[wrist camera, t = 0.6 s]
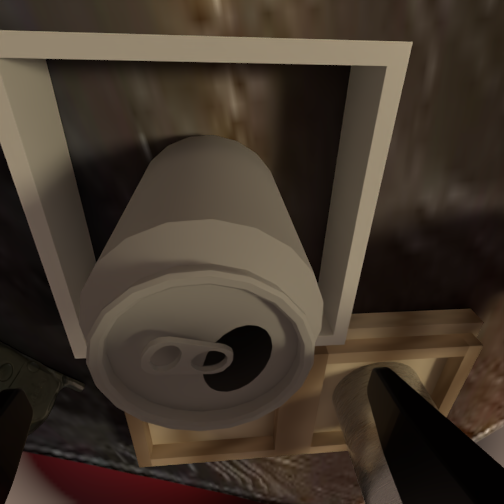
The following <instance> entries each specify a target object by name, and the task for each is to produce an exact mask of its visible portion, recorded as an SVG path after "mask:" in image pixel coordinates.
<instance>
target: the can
mask: <svg viewBox="0 0 504 504" xmlns="http://www.w3.org/2000/svg"><path fill="white" fill-rule="evenodd" d="M323 303H324V302H323V299H322V296H321V293H320V290H319V287H318V284H317V281H316V278H315V275H314V272H313V270H312V268H311V265H310V263H309V261H308V258H307V256H306V254H305V251H304V249H303V247H302V244H301V242H300V239H299V237H298V235H297V232H296V230H295V228H294V225H293V223H292V221H291V218H290V216H289V214H288V211H287V209H286V207H285V204H284V202H283V199H282V197H281V195H280V192H279V190H278V188H277V185H276V183H275V181H274V178H273V176H272V174H271V171H270V170H269V169H268V167H267V166H266V165H265V164H264V162H263V161H262V160H261V159H260V157H259V156H258V155H257V154H256V153H255V152H253V151H252V150H250V149H249V148H247V147H245V146H244V145H242V144H241V143H239V142H238V141H235V140H231V139H227V138H223V137H219V136H215V135H207V136H192V137H188V138H185V139H183V140H180V141H178V142H176V143H173V144H171V145H168V146H167V147H166V148H165V149H164V150H163V151H161V152H160V153H159V154H158V155H157V156H156V157H155V158H154V159H153V160H152V161H151V162H150V164H149V166H148V168H147V169H146V171H145V173H144V175H143V177H142V179H141V181H140V182H139V184H138V186H137V188H136V190H135V192H134V194H133V195H132V197H131V199H130V201H129V203H128V205H127V207H126V209H125V210H124V212H123V214H122V216H121V218H120V220H119V222H118V223H117V225H116V227H115V229H114V231H113V233H112V235H111V236H110V238H109V240H108V242H107V244H106V246H105V248H104V249H103V251H102V253H101V255H100V257H99V259H98V261H97V262H96V264H95V266H94V268H93V270H92V272H91V274H90V276H89V278H88V280H87V282H86V284H85V286H84V288H83V290H82V291H81V293H80V314H79V325H80V328H81V330H82V333H83V335H84V338H85V340H86V343H87V352H86V364H87V366H88V369H89V371H90V373H91V376H92V378H93V380H94V383H95V385H96V387H97V388H98V389H99V390H100V391H101V392H102V393H103V394H104V395H105V396H106V397H107V398H108V399H109V400H110V401H111V402H112V403H113V404H114V405H115V406H116V407H117V408H119V409H121V410H123V411H125V412H126V413H128V414H130V415H132V416H134V417H136V418H137V419H139V420H141V421H144V422H147V423H151V424H154V425H158V426H162V427H165V428H169V429H177V430H191V431H207V430H216V429H225V428H231V427H235V426H238V425H241V424H244V423H247V422H251V421H254V420H257V419H259V418H261V417H263V416H264V415H266V414H268V413H270V412H272V411H273V410H275V409H277V408H279V407H280V406H282V405H283V404H284V403H285V402H286V401H287V400H288V399H289V398H290V397H291V396H292V395H293V394H294V393H295V392H297V391H298V390H299V389H300V388H301V387H302V385H303V383H304V381H305V379H306V378H307V376H308V374H309V372H310V370H311V368H312V366H313V363H314V349H315V341H316V339H317V337H318V335H319V333H320V331H321V327H322V315H323Z"/></svg>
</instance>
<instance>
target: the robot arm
mask: <svg viewBox="0 0 504 504" xmlns="http://www.w3.org/2000/svg"><path fill="white" fill-rule="evenodd" d="M367 396H368V399H369V403H370V407H371V410H372V414H373V418H374V421H375V425H376V429H377V432H378V436H379V440H380V443H381V447H382V450H383V454H384V456H385V459H386V462H387V465H388V467H389V470H390V472H391V475H392V478H393V480H394V483H395V485H396V488H397V491H398V493H399V496H400V499H401V501H402V504H504V468H503V467H502V466H501V465H500V464H499V463H497V462H496V461H495V460H494V459H493V458H492V457H491V456H489V455H488V454H487V453H486V452H485V451H484V450H483V449H482V448H480V447H479V446H478V445H477V444H476V443H475V442H474V441H472V440H471V439H470V438H469V437H468V436H467V435H466V434H464V433H463V432H462V431H461V430H460V429H459V428H458V427H457V426H455V425H454V424H453V423H452V422H451V421H450V420H449V419H447V418H446V417H445V416H444V415H443V414H442V413H441V412H439V411H438V410H437V409H436V408H435V407H434V406H433V405H431V404H430V403H429V402H428V401H427V400H426V399H425V398H423V397H422V396H421V395H420V394H419V393H418V392H417V391H416V390H414V389H413V388H412V387H411V386H410V385H409V384H408V383H406V382H405V381H404V380H403V379H402V378H401V377H400V376H398V375H397V374H396V373H395V372H394V371H393V370H392V369H390V368H388V367H376V368H373V369H372V372H371V375H370V378H369V382H368V385H367ZM32 418H33V408H32V405H31V403H30V401H29V399H28V397H27V395H26V393H25V391H24V390H23V389H21V388H14V389H5V390H2V391H1V392H0V504H5V501H6V499H7V496H8V494H9V491H10V489H11V486H12V484H13V481H14V478H15V474H16V472H17V468H18V465H19V462H20V458H21V455H22V452H23V448H24V445H25V442H26V438H27V435H28V431H29V428H30V425H31V421H32Z"/></svg>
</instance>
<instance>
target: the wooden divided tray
mask: <svg viewBox="0 0 504 504" xmlns="http://www.w3.org/2000/svg"><path fill="white" fill-rule="evenodd" d="M483 323H484V322H483V321H482V320H481V319H480V318H479V317H478V316H477V315H476V314H475V313H474V312H473V311H472V310H471V309H450V310H428V311H405V312H383V313H360V314H351V318H350V323H349V327H348V332H347V336H346V341H345V345H327V346H315V349H314V363H313V366H312V368H311V370H310V372H309V374H308V376H307V378H306V379H305V381H304V383H303V385H302V387H301V388H300V389H299V390H298V391H297V392H295V393H294V394H293V395H292V396H291V397H290V398H289V399H288V400H287V401H286V402H285V403H284V404H283V405H282V406H280V407H279V408H277V409H275V410H273V411H272V412H270V413H268V414H266V415H264V416H263V417H261V418H259V419H257V420H254V421H251V422H247V423H244V424H241V425H238V426H235V427H231V428H225V429H216V430H207V431H191V430H177V429H169V428H165V427H162V426H158V425H154V424H151V423H147V422H144V421H141V420H139V419H137V418H136V417H134V416H132V415H130V414H128V413H126V412H125V411H124V412H125V415H126V419H127V423H128V426H129V430H130V434H131V438H132V441H133V445H134V449H135V452H136V456H137V460H138V463H139V467H150V466H162V465H175V464H187V463H200V462H212V461H224V460H237V459H249V458H262V457H274V456H286V455H299V454H311V453H324V452H336V451H348V449H347V446H346V442H345V439H344V436H343V433H342V430H341V427H340V424H339V421H338V418H337V415H336V412H335V409H334V405H333V402H332V395H333V392H334V389H335V388H336V386H337V385H338V383H339V382H340V381H341V380H342V379H343V378H344V377H345V376H347V375H348V374H349V373H351V372H353V371H354V370H356V369H358V368H361V367H363V366H366V365H369V364H373V363H378V362H399V363H403V364H406V365H408V366H410V367H411V368H412V369H413V370H414V371H415V372H416V373H417V375H418V377H419V378H420V380H421V382H422V383H423V385H424V387H425V388H426V390H427V392H428V393H429V395H430V397H431V398H432V400H433V401H434V403H435V405H436V406H437V408H438V410H439V411H440V412H441V413H442V414H443V415H444V416H445V417H447V415H448V413H449V411H450V409H451V407H452V405H453V403H454V401H455V399H456V397H457V395H458V393H459V391H460V390H461V388H462V386H463V384H464V382H465V380H466V378H467V376H468V374H469V372H470V370H471V368H472V366H473V364H474V362H475V360H476V358H477V356H478V355H479V353H480V351H481V349H482V347H483V345H482V344H481V342H480V341H479V340H478V339H477V338H476V337H477V335H478V333H479V331H480V329H481V327H482V325H483Z"/></svg>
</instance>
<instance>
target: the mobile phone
mask: <svg viewBox="0 0 504 504" xmlns="http://www.w3.org/2000/svg"><path fill="white" fill-rule="evenodd" d="M65 387H68V388H71V389H73V390H75V391H77V392H81V391H82V390H83V389H84V387H85V384H84V383H82V382H79V381H77V380H75V379H73V378H71V377H68V376H66V375H64V374H62V373H60V372H57V371H55V370H53V369H51V368H49V367H47V366H45V365H43V364H41V363H40V362H38V361H36V360H34V359H32V358H30V357H28V356H26V355H24V354H22V353H20V352H19V351H17V350H15V349H13V348H11V347H10V346H8V345H6V344H4V343H2V342H0V392H1V391H2V390H5V389H14V388H21V389H23V390H24V391H25V393H26V395H27V397H28V399H29V401H30V403H31V405H32V408H33V418H32V421H31V425H30V428H29V431H28V435H30V434H31V433H32V432H34V431H35V430H36V429H37V428H38V427H39V426H40V425H41V424H42V423H43V422H44V421H45V420H46V419H47V417H48V416H49V414H50V412H51V410H52V408H53V406H54V403H55V400H56V397H57V394H58V392H59V391H60V390H61V389H62V388H65ZM28 435H27V436H28Z"/></svg>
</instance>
